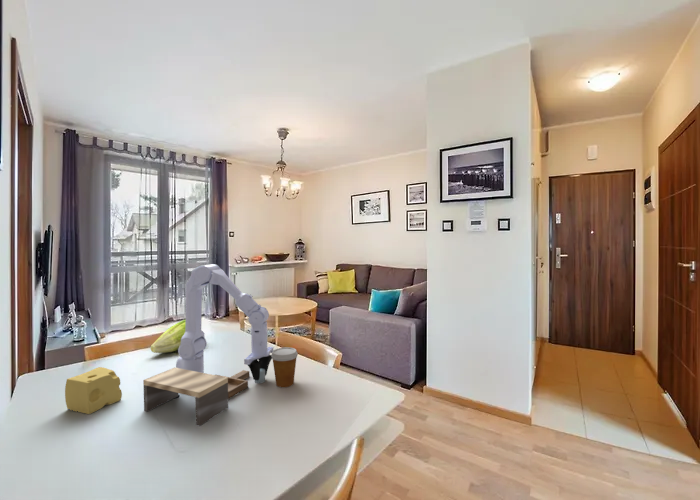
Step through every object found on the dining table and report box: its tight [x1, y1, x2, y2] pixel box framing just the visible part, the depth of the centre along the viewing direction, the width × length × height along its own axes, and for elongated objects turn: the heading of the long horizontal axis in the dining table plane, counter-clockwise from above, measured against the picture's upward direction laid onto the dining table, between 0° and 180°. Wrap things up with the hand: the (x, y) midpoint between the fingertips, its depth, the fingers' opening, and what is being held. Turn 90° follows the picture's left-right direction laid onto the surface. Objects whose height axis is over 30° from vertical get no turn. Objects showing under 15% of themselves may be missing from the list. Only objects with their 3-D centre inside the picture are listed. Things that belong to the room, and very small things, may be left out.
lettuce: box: [150, 319, 186, 354], centre depth 159 cm, size 15×24×14 cm, turn 153°
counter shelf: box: [143, 367, 229, 427], centre depth 102 cm, size 23×11×10 cm, turn 67°
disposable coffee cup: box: [270, 346, 298, 388], centre depth 120 cm, size 10×10×12 cm
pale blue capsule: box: [254, 369, 266, 384], centre depth 122 cm, size 4×4×4 cm
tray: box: [216, 369, 250, 400], centre depth 119 cm, size 15×18×2 cm
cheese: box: [64, 366, 123, 415], centre depth 105 cm, size 10×11×10 cm
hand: (259, 377), depth 122 cm, fingers closed on pale blue capsule, 4 cm apart
